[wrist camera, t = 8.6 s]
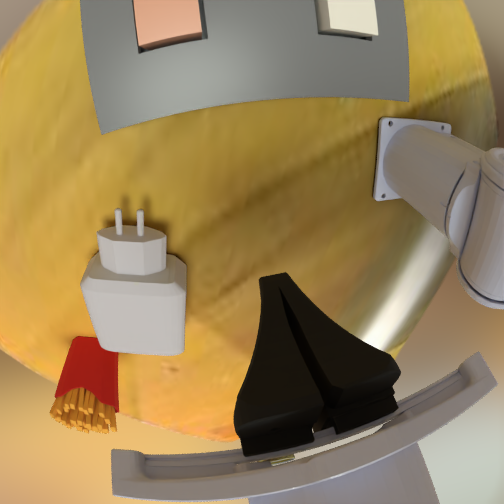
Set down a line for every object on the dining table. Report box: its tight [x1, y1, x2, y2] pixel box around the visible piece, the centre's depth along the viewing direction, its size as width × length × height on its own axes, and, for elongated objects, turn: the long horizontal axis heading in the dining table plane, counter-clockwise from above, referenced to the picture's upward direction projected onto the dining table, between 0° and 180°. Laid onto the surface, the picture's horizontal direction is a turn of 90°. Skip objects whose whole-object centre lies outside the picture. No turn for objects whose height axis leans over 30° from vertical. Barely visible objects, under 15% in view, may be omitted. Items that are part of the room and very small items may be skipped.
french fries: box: [50, 336, 119, 434], centre depth 25 cm, size 8×4×12 cm, turn 81°
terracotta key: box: [133, 0, 202, 51], centre depth 10 cm, size 3×3×3 cm
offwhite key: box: [314, 0, 378, 38], centre depth 11 cm, size 3×3×3 cm
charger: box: [80, 208, 187, 356], centre depth 22 cm, size 5×9×15 cm
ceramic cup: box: [257, 454, 295, 465], centre depth 61 cm, size 13×10×10 cm
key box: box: [80, 0, 409, 135], centre depth 11 cm, size 20×12×4 cm, turn 96°
